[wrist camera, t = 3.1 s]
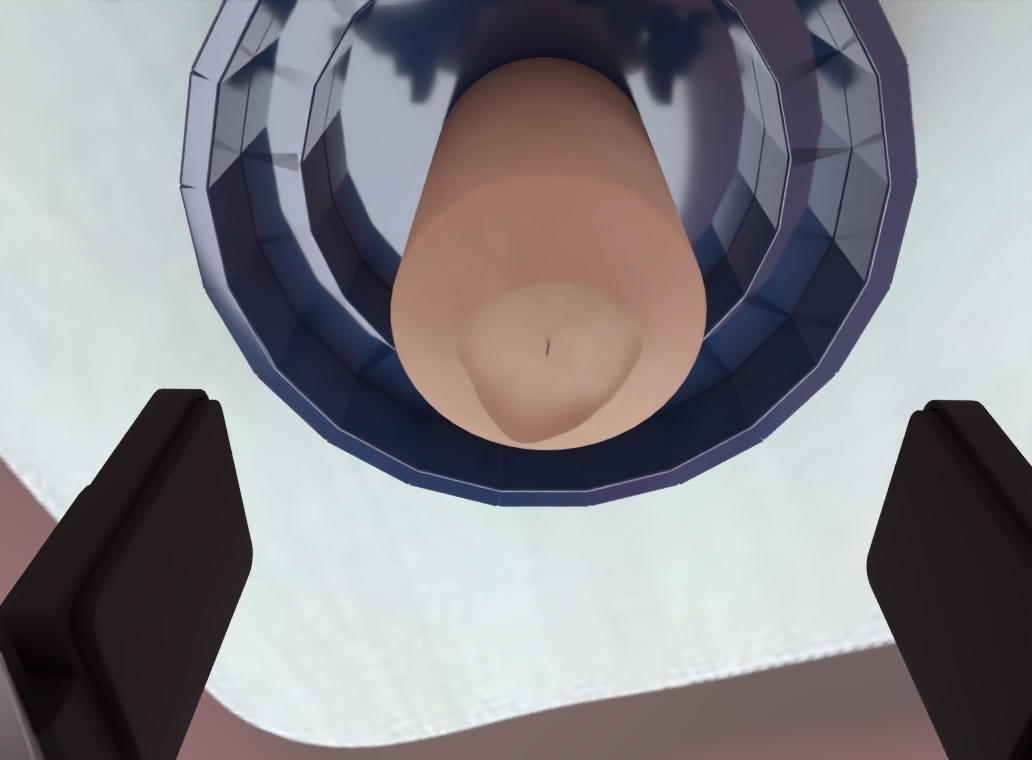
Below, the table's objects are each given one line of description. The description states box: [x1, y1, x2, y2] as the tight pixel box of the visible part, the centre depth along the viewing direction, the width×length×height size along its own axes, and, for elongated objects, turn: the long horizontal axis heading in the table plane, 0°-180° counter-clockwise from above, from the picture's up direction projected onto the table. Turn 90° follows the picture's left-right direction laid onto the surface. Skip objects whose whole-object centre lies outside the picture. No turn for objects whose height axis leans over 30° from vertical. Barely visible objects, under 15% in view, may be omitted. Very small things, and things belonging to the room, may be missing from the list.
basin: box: [180, 0, 918, 507], centre depth 20 cm, size 15×15×5 cm
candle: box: [391, 57, 707, 450], centre depth 18 cm, size 6×6×10 cm
